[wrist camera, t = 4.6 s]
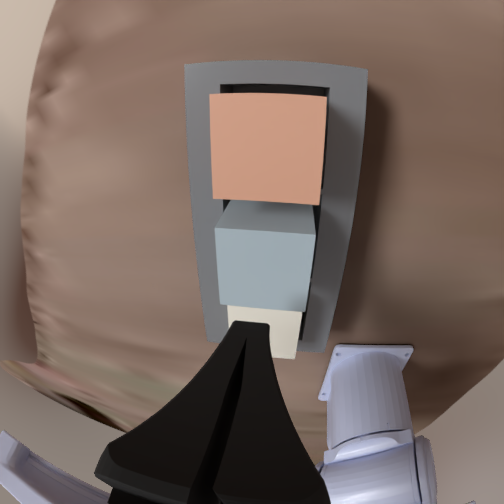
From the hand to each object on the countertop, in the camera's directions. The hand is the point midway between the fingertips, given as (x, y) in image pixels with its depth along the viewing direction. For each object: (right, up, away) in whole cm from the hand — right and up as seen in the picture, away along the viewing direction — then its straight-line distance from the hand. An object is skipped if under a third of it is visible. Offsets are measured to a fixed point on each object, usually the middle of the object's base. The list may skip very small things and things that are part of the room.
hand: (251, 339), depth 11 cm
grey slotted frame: (+1, +6, +8) cm, 10 cm away
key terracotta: (+1, +9, +2) cm, 9 cm away
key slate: (+1, +4, +5) cm, 7 cm away
